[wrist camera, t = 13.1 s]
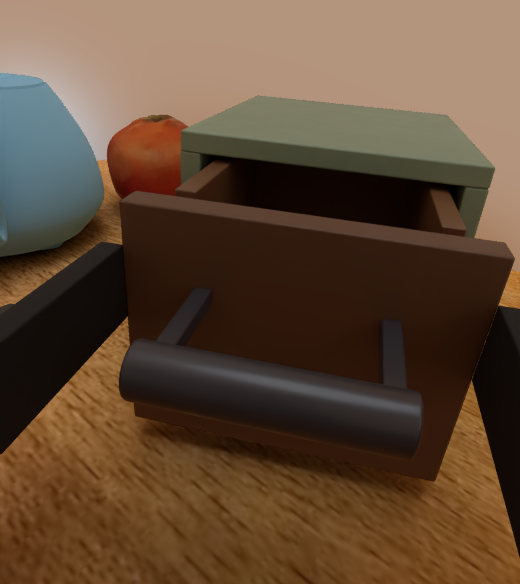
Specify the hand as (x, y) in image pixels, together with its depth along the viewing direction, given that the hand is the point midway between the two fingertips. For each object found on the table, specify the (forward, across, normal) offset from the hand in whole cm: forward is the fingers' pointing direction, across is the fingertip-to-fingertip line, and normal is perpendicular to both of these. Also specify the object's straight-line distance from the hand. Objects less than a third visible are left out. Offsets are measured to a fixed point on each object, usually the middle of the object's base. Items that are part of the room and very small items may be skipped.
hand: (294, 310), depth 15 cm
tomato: (+26, -16, -7) cm, 31 cm away
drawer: (+4, 0, -6) cm, 7 cm away
